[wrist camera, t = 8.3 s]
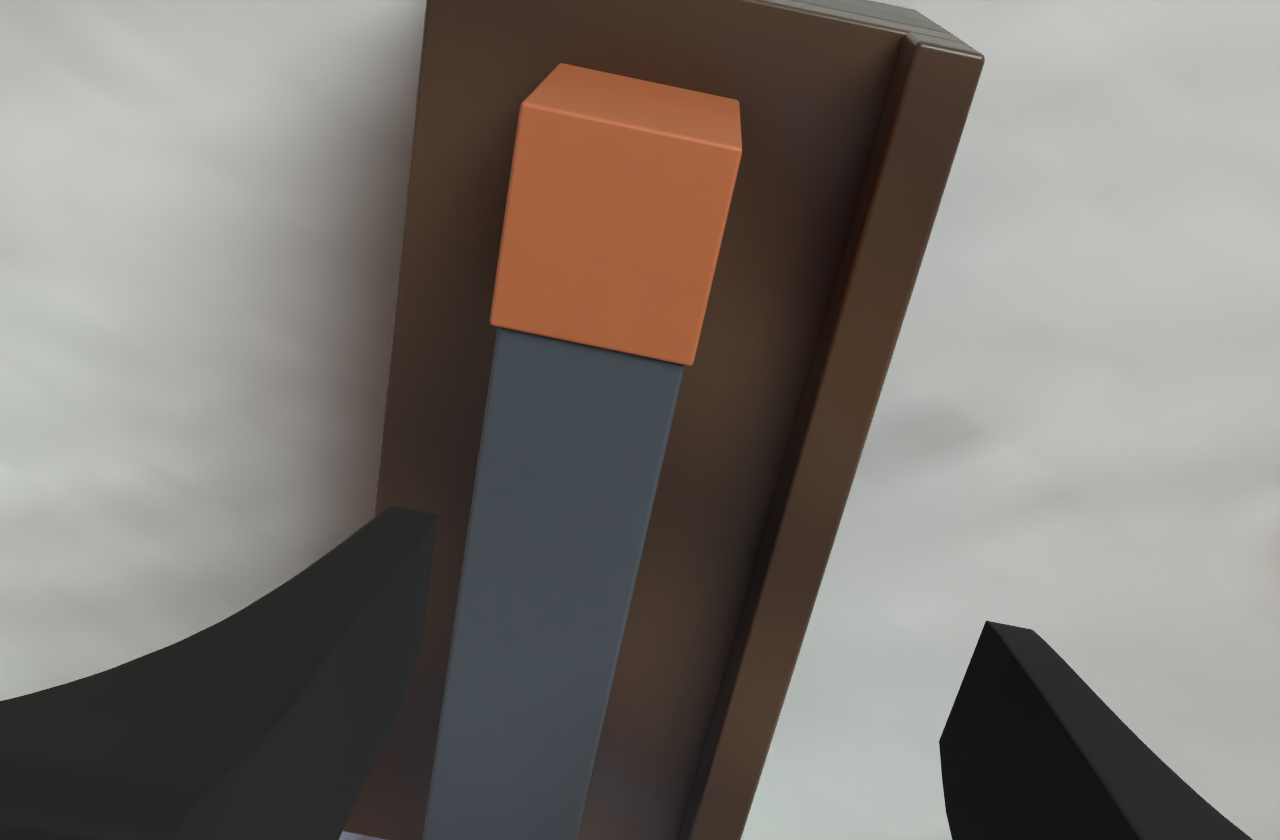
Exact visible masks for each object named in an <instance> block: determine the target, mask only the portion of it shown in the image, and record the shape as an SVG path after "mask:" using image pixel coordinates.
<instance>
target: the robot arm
mask: <svg viewBox="0 0 1280 840" xmlns="http://www.w3.org/2000/svg"><path fill="white" fill-rule="evenodd" d="M437 520H438V515H437V514H432V513H427V512H422V511H417V510H412V509H406V508H401V507H396V506H390V507H389V508H387V509H385V510H384V511H382V512H381V513H380V514H378V515H377V516H376V517H374V518H373V519H372V520H371V521H369V522H368V523H367V524H365V525H364V526H363V527H362V528H360V529H359V530H358V531H356V532H355V533H354V534H353V535H351V536H350V537H349V538H347V539H346V540H345V541H343V542H342V543H341V544H339V545H338V546H337V547H335V548H334V549H333V550H331V551H330V552H329V553H327V554H326V555H325V556H323V557H322V558H320V559H319V560H318V561H316V562H315V563H313V564H312V565H310V566H309V567H308V568H306V569H305V570H303V571H302V572H301V573H299V574H298V575H296V576H295V577H293V578H292V579H290V580H289V581H287V582H286V583H284V584H283V585H281V586H280V587H278V588H276V589H275V590H273V591H272V592H270V593H268V594H267V595H265V596H263V597H262V598H260V599H259V600H257V601H255V602H254V603H252V604H251V605H249V606H247V607H246V608H244V609H242V610H241V611H239V612H237V613H236V614H234V615H232V616H230V617H228V618H226V619H225V620H223V621H221V622H219V623H217V624H215V625H213V626H211V627H209V628H207V629H205V630H203V631H201V632H198V633H196V634H194V635H192V636H190V637H188V638H186V639H184V640H182V641H179V642H177V643H175V644H173V645H170V646H168V647H165V648H163V649H160V650H158V651H155V652H153V653H150V654H148V655H145V656H143V657H140V658H137V659H135V660H132V661H130V662H127V663H125V664H122V665H120V666H117V667H115V668H112V669H109V670H107V671H104V672H101V673H98V674H95V675H92V676H89V677H85V678H82V679H79V680H76V681H73V682H70V683H67V684H63V685H60V686H56V687H53V688H49V689H46V690H42V691H39V692H35V693H32V694H28V695H24V696H20V697H16V698H12V699H8V700H4V701H0V840H385V839H380V838H375V837H369V836H364V835H359V834H354V833H349V832H344V831H343V830H344V828H345V826H346V824H347V821H348V819H349V817H350V815H351V813H352V811H353V809H354V807H355V805H356V803H357V801H358V798H359V796H360V794H361V792H362V790H363V788H364V786H365V784H366V782H367V780H368V778H369V775H370V773H371V771H372V769H373V767H374V765H375V763H376V761H377V759H378V757H379V755H380V752H381V750H382V748H383V746H384V744H385V742H386V740H387V738H388V735H389V733H390V731H391V729H392V727H393V725H394V723H395V721H396V718H397V716H398V714H399V712H400V710H401V707H402V705H403V702H404V699H405V696H406V693H407V690H408V687H409V684H410V681H411V678H412V675H413V671H414V668H415V665H416V662H417V659H418V656H419V653H420V650H421V646H422V643H423V637H424V629H425V620H426V612H427V603H428V595H429V587H430V578H431V570H432V561H433V553H434V545H435V536H436V528H437ZM939 745H940V757H941V769H942V781H943V789H944V798H945V806H946V814H947V818H948V822H949V827H950V831H951V835H952V839H953V840H1252V839H1251V838H1250V837H1249V836H1247V835H1246V834H1245V833H1244V832H1242V831H1241V830H1240V829H1239V828H1238V827H1236V826H1235V825H1234V824H1233V823H1231V822H1230V821H1229V820H1228V819H1226V818H1225V817H1224V816H1223V815H1221V814H1220V813H1219V812H1218V811H1217V810H1216V809H1214V808H1213V807H1212V806H1211V805H1210V804H1209V803H1207V802H1206V801H1205V800H1204V799H1203V798H1202V797H1201V796H1199V795H1198V794H1197V793H1196V792H1195V791H1194V790H1193V789H1192V788H1191V787H1190V786H1189V785H1187V784H1186V783H1185V782H1184V781H1183V780H1182V779H1181V778H1180V777H1179V776H1178V775H1177V774H1176V773H1174V772H1173V771H1172V770H1171V769H1170V768H1169V767H1168V766H1167V765H1166V764H1165V763H1164V762H1163V761H1162V760H1161V759H1159V758H1158V757H1157V756H1156V755H1155V754H1154V753H1153V752H1152V751H1151V750H1150V749H1149V748H1148V747H1147V746H1146V745H1145V744H1144V743H1143V742H1142V741H1141V740H1140V739H1139V738H1138V737H1137V736H1136V735H1135V734H1134V733H1133V732H1132V731H1131V730H1130V729H1129V728H1128V727H1127V726H1126V725H1125V724H1124V723H1123V722H1122V721H1121V720H1120V719H1119V718H1118V717H1117V716H1116V715H1115V714H1114V712H1113V711H1112V710H1111V709H1110V708H1109V707H1108V706H1107V705H1106V704H1105V703H1104V702H1103V701H1102V700H1101V699H1100V698H1099V697H1098V696H1097V695H1096V694H1095V693H1094V692H1093V691H1092V689H1091V688H1090V687H1089V686H1088V685H1087V684H1086V683H1085V682H1084V681H1083V680H1082V679H1081V678H1080V677H1079V676H1078V675H1077V674H1076V673H1075V672H1074V670H1073V669H1072V668H1071V667H1070V666H1069V665H1068V664H1067V663H1066V662H1065V661H1064V660H1063V659H1062V658H1061V657H1060V656H1059V655H1058V654H1057V653H1056V652H1055V651H1054V650H1053V649H1052V648H1051V647H1050V646H1049V645H1048V644H1047V643H1046V642H1045V641H1044V640H1043V639H1042V638H1041V637H1040V636H1039V635H1038V634H1036V633H1035V632H1034V631H1033V630H1031V629H1026V628H1021V627H1015V626H1010V625H1005V624H1000V623H995V622H990V621H986V622H985V625H984V627H983V630H982V633H981V635H980V638H979V640H978V643H977V645H976V648H975V651H974V653H973V656H972V658H971V661H970V663H969V666H968V669H967V671H966V674H965V676H964V679H963V681H962V684H961V687H960V689H959V692H958V694H957V697H956V699H955V702H954V705H953V707H952V710H951V712H950V715H949V717H948V720H947V723H946V725H945V728H944V730H943V733H942V735H941V738H940V741H939Z"/></svg>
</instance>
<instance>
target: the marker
mask: <svg viewBox="0 0 1280 840" xmlns="http://www.w3.org/2000/svg"><path fill="white" fill-rule="evenodd" d="M741 156H742V138H741V122H740V106H739V101H737V100H735V99H730V98H725V97H721V96H716V95H711V94H706V93H702V92H697V91H692V90H687V89H683V88H678V87H673V86H668V85H664V84H659V83H654V82H649V81H644V80H640V79H635V78H630V77H625V76H621V75H616V74H611V73H606V72H602V71H597V70H592V69H587V68H583V67H578V66H573V65H568V64H563V63H560V64H558V65H557V66H556V67H555V68H554V69H553V70H552V71H551V73H550V74H549V75H548V76H547V77H546V78H545V79H544V80H543V81H542V82H541V83H540V84H539V85H538V86H537V87H536V88H535V89H534V90H533V92H532V93H531V94H530V95H529V96H528V97H527V98H526V99H525V100H524V101H523V102H522V104H521V105H520V111H519V118H518V125H517V132H516V139H515V146H514V153H513V160H512V167H511V174H510V181H509V188H508V195H507V202H506V209H505V216H504V223H503V230H502V237H501V244H500V251H499V258H498V265H497V272H496V279H495V286H494V293H493V300H492V307H491V314H490V324H491V325H493V326H497V327H498V328H497V333H496V340H495V347H494V354H493V360H492V367H491V374H490V381H489V388H488V395H487V402H486V408H485V415H484V422H483V429H482V436H481V443H480V450H479V456H478V463H477V470H476V477H475V484H474V491H473V497H472V504H471V511H470V518H469V525H468V532H467V539H466V545H465V552H464V559H463V566H462V573H461V580H460V587H459V593H458V600H457V607H456V614H455V621H454V628H453V634H452V641H451V648H450V655H449V662H448V669H447V676H446V682H445V689H444V696H443V703H442V710H441V717H440V723H439V730H438V737H437V744H436V751H435V758H434V765H433V771H432V778H431V785H430V792H429V799H428V806H427V813H426V819H425V826H424V833H423V840H577V837H578V833H579V829H580V824H581V820H582V815H583V811H584V807H585V802H586V798H587V793H588V789H589V785H590V780H591V776H592V772H593V767H594V763H595V758H596V754H597V750H598V745H599V741H600V736H601V732H602V728H603V723H604V719H605V714H606V710H607V706H608V701H609V697H610V692H611V688H612V684H613V679H614V675H615V671H616V666H617V662H618V657H619V653H620V649H621V644H622V640H623V635H624V631H625V627H626V622H627V618H628V613H629V609H630V605H631V600H632V596H633V591H634V587H635V583H636V578H637V574H638V570H639V565H640V561H641V556H642V552H643V548H644V543H645V539H646V534H647V530H648V526H649V521H650V517H651V512H652V508H653V504H654V499H655V495H656V490H657V486H658V482H659V477H660V473H661V469H662V464H663V460H664V455H665V451H666V447H667V442H668V438H669V433H670V429H671V425H672V420H673V416H674V411H675V407H676V403H677V398H678V394H679V389H680V385H681V381H682V376H683V372H684V368H685V365H688V366H691V365H692V364H693V363H694V359H695V355H696V350H697V346H698V342H699V337H700V333H701V329H702V325H703V320H704V316H705V312H706V307H707V303H708V299H709V294H710V290H711V286H712V281H713V277H714V273H715V268H716V264H717V260H718V255H719V251H720V247H721V242H722V238H723V234H724V229H725V225H726V221H727V216H728V212H729V208H730V203H731V199H732V195H733V190H734V186H735V182H736V177H737V173H738V169H739V164H740V160H741Z"/></svg>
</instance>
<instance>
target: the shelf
mask: <svg viewBox="0 0 1280 840" xmlns="http://www.w3.org/2000/svg"><path fill="white" fill-rule="evenodd" d="M984 62H985V59H984V55H982V54H981V53H979V52H978V51H976V50H975V49H973V48H972V47H970V46H969V45H967V44H966V43H965V42H963V41H962V40H960V39H959V38H957V37H956V36H954V35H953V34H951V33H950V32H948V31H947V30H945V29H944V28H942V27H941V26H939V25H937V24H936V23H934V22H933V21H931V20H930V19H928V18H927V17H925V16H924V15H922V14H920V13H919V12H917V11H916V10H912V9H907V8H903V7H898V6H893V5H888V4H884V3H879V2H874V1H869V0H427V1H426V10H425V20H424V30H423V40H422V50H421V59H420V69H419V79H418V89H417V99H416V108H415V118H414V128H413V138H412V148H411V157H410V167H409V177H408V187H407V197H406V206H405V216H404V226H403V236H402V246H401V255H400V265H399V275H398V285H397V294H396V304H395V314H394V324H393V334H392V343H391V353H390V363H389V373H388V383H387V392H386V402H385V412H384V422H383V432H382V441H381V451H380V461H379V471H378V481H377V490H376V500H375V510H374V517H376V516H377V515H378V514H380V513H381V512H382V511H384V510H385V509H387V508H389V507H390V506H396V507H401V508H406V509H412V510H417V511H422V512H427V513H432V514H437V515H438V520H437V528H436V536H435V545H434V553H433V561H432V570H431V578H430V587H429V595H428V603H427V612H426V620H425V629H424V637H423V643H422V646H421V650H420V653H419V656H418V659H417V662H416V665H415V668H414V671H413V675H412V678H411V681H410V684H409V687H408V690H407V693H406V696H405V699H404V702H403V705H402V707H401V710H400V712H399V714H398V716H397V718H396V721H395V723H394V725H393V727H392V729H391V731H390V733H389V735H388V738H387V740H386V742H385V744H384V746H383V748H382V750H381V752H380V755H379V757H378V759H377V761H376V763H375V765H374V767H373V769H372V771H371V773H370V775H369V778H368V780H367V782H366V784H365V786H364V788H363V790H362V792H361V794H360V796H359V798H358V801H357V803H356V805H355V807H354V809H353V811H352V813H351V815H350V817H349V819H348V821H347V824H346V826H345V828H344V830H343V831H344V832H349V833H354V834H359V835H364V836H369V837H375V838H380V839H385V840H423V833H424V826H425V819H426V813H427V806H428V799H429V792H430V785H431V778H432V771H433V765H434V758H435V751H436V744H437V737H438V730H439V723H440V717H441V710H442V703H443V696H444V689H445V682H446V676H447V669H448V662H449V655H450V648H451V641H452V634H453V628H454V621H455V614H456V607H457V600H458V593H459V587H460V580H461V573H462V566H463V559H464V552H465V545H466V539H467V532H468V525H469V518H470V511H471V504H472V497H473V491H474V484H475V477H476V470H477V463H478V456H479V450H480V443H481V436H482V429H483V422H484V415H485V408H486V402H487V395H488V388H489V381H490V374H491V367H492V360H493V354H494V347H495V340H496V333H497V328H498V327H497V326H493V325H491V324H490V314H491V307H492V300H493V293H494V286H495V279H496V272H497V265H498V258H499V251H500V244H501V237H502V230H503V223H504V216H505V209H506V202H507V195H508V188H509V181H510V174H511V167H512V160H513V153H514V146H515V139H516V132H517V125H518V118H519V111H520V105H521V104H522V102H523V101H524V100H525V99H526V98H527V97H528V96H529V95H530V94H531V93H532V92H533V90H534V89H535V88H536V87H537V86H538V85H539V84H540V83H541V82H542V81H543V80H544V79H545V78H546V77H547V76H548V75H549V74H550V73H551V71H552V70H553V69H554V68H555V67H556V66H557V65H558V64H560V63H563V64H568V65H573V66H578V67H583V68H587V69H592V70H597V71H602V72H606V73H611V74H616V75H621V76H625V77H630V78H635V79H640V80H644V81H649V82H654V83H659V84H664V85H668V86H673V87H678V88H683V89H687V90H692V91H697V92H702V93H706V94H711V95H716V96H721V97H725V98H730V99H735V100H737V101H739V106H740V122H741V138H742V156H741V160H740V164H739V169H738V173H737V177H736V182H735V186H734V190H733V195H732V199H731V203H730V208H729V212H728V216H727V221H726V225H725V229H724V234H723V238H722V242H721V247H720V251H719V255H718V260H717V264H716V268H715V273H714V277H713V281H712V286H711V290H710V294H709V299H708V303H707V307H706V312H705V316H704V320H703V325H702V329H701V333H700V337H699V342H698V346H697V350H696V355H695V359H694V363H693V364H692V365H691V366H688V365H685V368H684V372H683V376H682V381H681V385H680V389H679V394H678V398H677V403H676V407H675V411H674V416H673V420H672V425H671V429H670V433H669V438H668V442H667V447H666V451H665V455H664V460H663V464H662V469H661V473H660V477H659V482H658V486H657V490H656V495H655V499H654V504H653V508H652V512H651V517H650V521H649V526H648V530H647V534H646V539H645V543H644V548H643V552H642V556H641V561H640V565H639V570H638V574H637V578H636V583H635V587H634V591H633V596H632V600H631V605H630V609H629V613H628V618H627V622H626V627H625V631H624V635H623V640H622V644H621V649H620V653H619V657H618V662H617V666H616V671H615V675H614V679H613V684H612V688H611V692H610V697H609V701H608V706H607V710H606V714H605V719H604V723H603V728H602V732H601V736H600V741H599V745H598V750H597V754H596V758H595V763H594V767H593V772H592V776H591V780H590V785H589V789H588V793H587V798H586V802H585V807H584V811H583V815H582V820H581V824H580V829H579V833H578V837H577V840H741V837H742V834H743V831H744V827H745V824H746V821H747V818H748V815H749V811H750V808H751V805H752V802H753V799H754V795H755V792H756V789H757V786H758V783H759V779H760V776H761V773H762V770H763V767H764V764H765V760H766V757H767V754H768V751H769V748H770V744H771V741H772V738H773V735H774V732H775V728H776V725H777V722H778V719H779V716H780V713H781V709H782V706H783V703H784V700H785V697H786V693H787V690H788V687H789V684H790V681H791V677H792V674H793V671H794V668H795V665H796V661H797V658H798V655H799V652H800V649H801V646H802V642H803V639H804V636H805V633H806V630H807V626H808V623H809V620H810V617H811V614H812V610H813V607H814V604H815V601H816V598H817V595H818V591H819V588H820V585H821V582H822V579H823V575H824V572H825V569H826V566H827V563H828V559H829V556H830V553H831V550H832V547H833V543H834V540H835V537H836V534H837V531H838V528H839V524H840V521H841V518H842V515H843V512H844V508H845V505H846V502H847V499H848V496H849V492H850V489H851V486H852V483H853V480H854V477H855V473H856V470H857V467H858V464H859V461H860V457H861V454H862V451H863V448H864V445H865V441H866V438H867V435H868V432H869V429H870V425H871V422H872V419H873V416H874V413H875V410H876V406H877V403H878V400H879V397H880V394H881V390H882V387H883V384H884V381H885V378H886V374H887V371H888V368H889V365H890V362H891V359H892V355H893V352H894V349H895V346H896V343H897V339H898V336H899V333H900V330H901V327H902V323H903V320H904V317H905V314H906V311H907V307H908V304H909V301H910V298H911V295H912V292H913V288H914V285H915V282H916V279H917V276H918V272H919V269H920V266H921V263H922V260H923V256H924V253H925V250H926V247H927V244H928V241H929V237H930V234H931V231H932V228H933V225H934V221H935V218H936V215H937V212H938V209H939V205H940V202H941V199H942V196H943V193H944V189H945V186H946V183H947V180H948V177H949V174H950V170H951V167H952V164H953V161H954V158H955V154H956V151H957V148H958V145H959V142H960V138H961V135H962V132H963V129H964V126H965V123H966V119H967V116H968V113H969V110H970V107H971V103H972V100H973V97H974V94H975V91H976V87H977V84H978V81H979V78H980V75H981V71H982V68H983V65H984Z"/></svg>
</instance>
